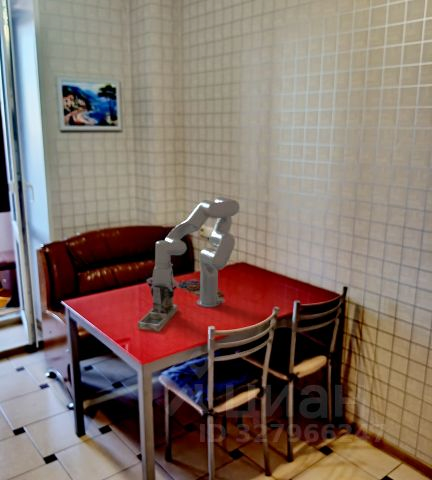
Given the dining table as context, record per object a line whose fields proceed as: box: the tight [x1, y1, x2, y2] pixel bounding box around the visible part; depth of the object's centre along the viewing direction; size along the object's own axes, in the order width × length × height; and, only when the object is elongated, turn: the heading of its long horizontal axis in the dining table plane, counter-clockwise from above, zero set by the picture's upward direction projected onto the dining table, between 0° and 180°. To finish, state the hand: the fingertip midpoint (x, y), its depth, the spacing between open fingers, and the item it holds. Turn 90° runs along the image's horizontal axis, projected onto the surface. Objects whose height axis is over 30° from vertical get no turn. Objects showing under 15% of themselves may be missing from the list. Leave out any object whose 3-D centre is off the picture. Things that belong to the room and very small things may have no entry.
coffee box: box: [152, 284, 174, 314], centre depth 237 cm, size 9×6×16 cm
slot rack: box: [137, 304, 179, 332], centre depth 233 cm, size 11×27×3 cm, turn 166°
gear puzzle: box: [177, 278, 224, 297], centre depth 275 cm, size 31×16×4 cm, turn 45°
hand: (162, 296), depth 237 cm, fingers open, 9 cm apart
